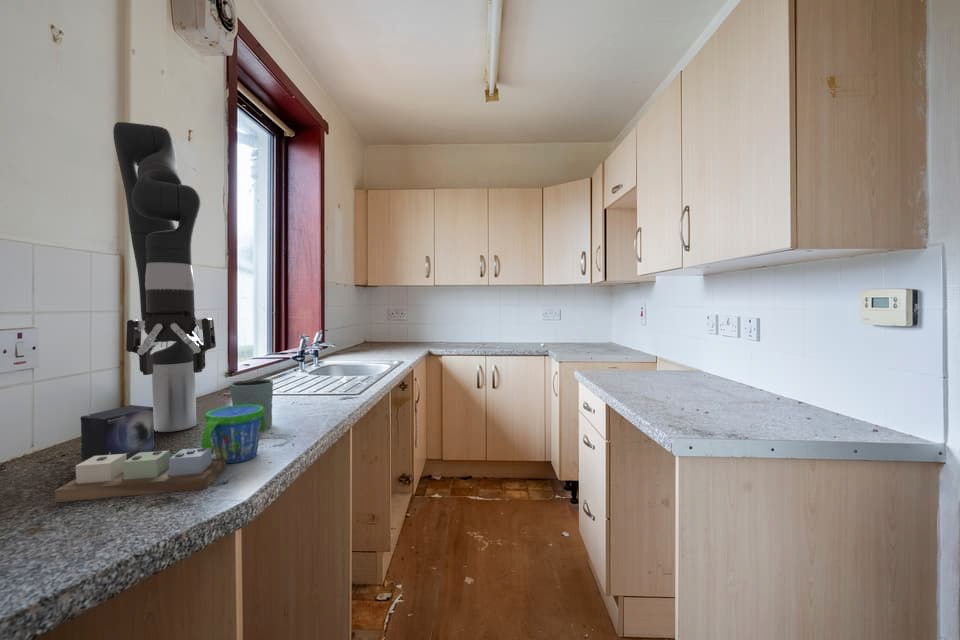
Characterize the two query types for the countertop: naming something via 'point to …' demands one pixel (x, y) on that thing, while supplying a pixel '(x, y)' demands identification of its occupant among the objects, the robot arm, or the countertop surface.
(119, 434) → the small box
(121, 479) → the board
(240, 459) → the snack cup
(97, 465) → the tile one
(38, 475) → the countertop surface
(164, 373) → the robot arm
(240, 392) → the grey green plant pot
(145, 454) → the tile two
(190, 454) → the tile three
